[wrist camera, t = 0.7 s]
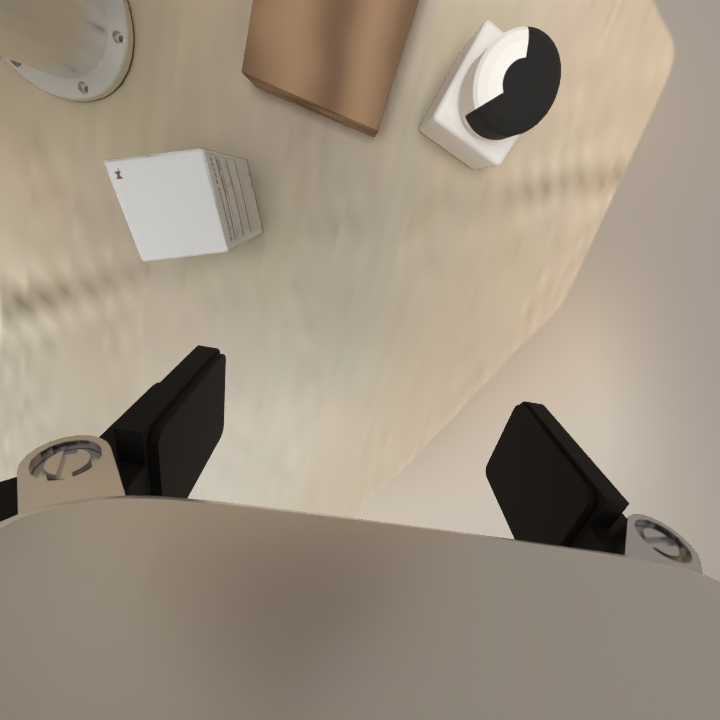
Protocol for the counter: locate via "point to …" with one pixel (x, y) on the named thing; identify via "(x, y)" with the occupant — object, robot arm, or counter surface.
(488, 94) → the medicine bottle
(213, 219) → the supplement box
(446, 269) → the counter surface
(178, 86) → the counter surface
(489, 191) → the counter surface
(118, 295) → the counter surface
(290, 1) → the walnut block
